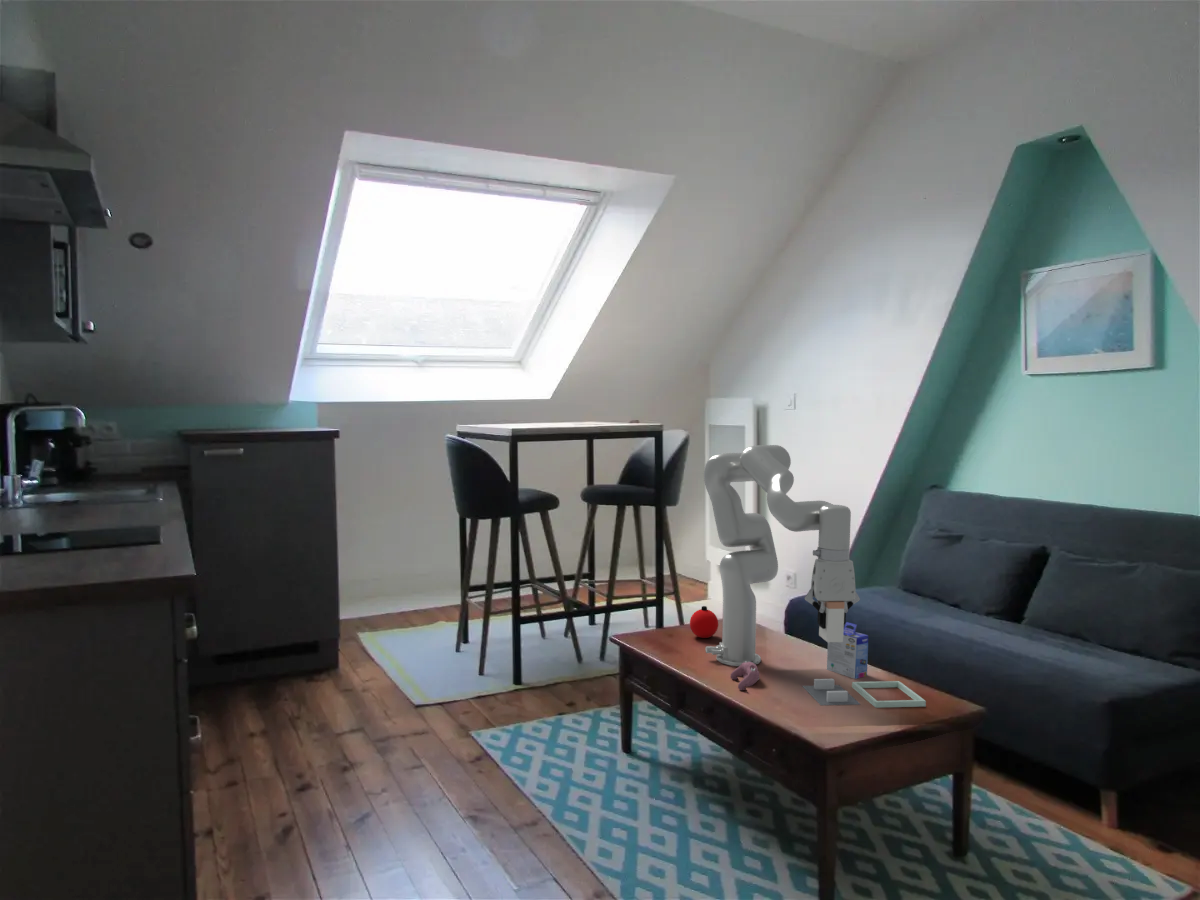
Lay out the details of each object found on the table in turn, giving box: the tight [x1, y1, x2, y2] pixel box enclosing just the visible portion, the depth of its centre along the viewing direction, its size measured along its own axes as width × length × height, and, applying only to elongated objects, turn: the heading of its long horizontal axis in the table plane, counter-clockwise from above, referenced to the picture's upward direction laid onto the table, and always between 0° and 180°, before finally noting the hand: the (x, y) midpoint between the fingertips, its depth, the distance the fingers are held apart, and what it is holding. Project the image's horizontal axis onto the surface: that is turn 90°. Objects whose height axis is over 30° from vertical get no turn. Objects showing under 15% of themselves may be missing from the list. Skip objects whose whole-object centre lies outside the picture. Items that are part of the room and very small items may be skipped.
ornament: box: [689, 605, 719, 639], centre depth 266 cm, size 9×9×10 cm
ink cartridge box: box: [826, 621, 869, 680], centre depth 229 cm, size 10×6×14 cm, turn 36°
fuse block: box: [801, 678, 861, 706], centre depth 211 cm, size 10×14×4 cm
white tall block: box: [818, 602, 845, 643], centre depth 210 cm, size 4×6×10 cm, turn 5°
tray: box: [851, 680, 927, 708], centre depth 211 cm, size 13×15×2 cm
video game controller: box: [730, 661, 760, 691], centre depth 222 cm, size 10×5×7 cm, turn 5°
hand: (831, 626), depth 211 cm, fingers closed on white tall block, 4 cm apart
